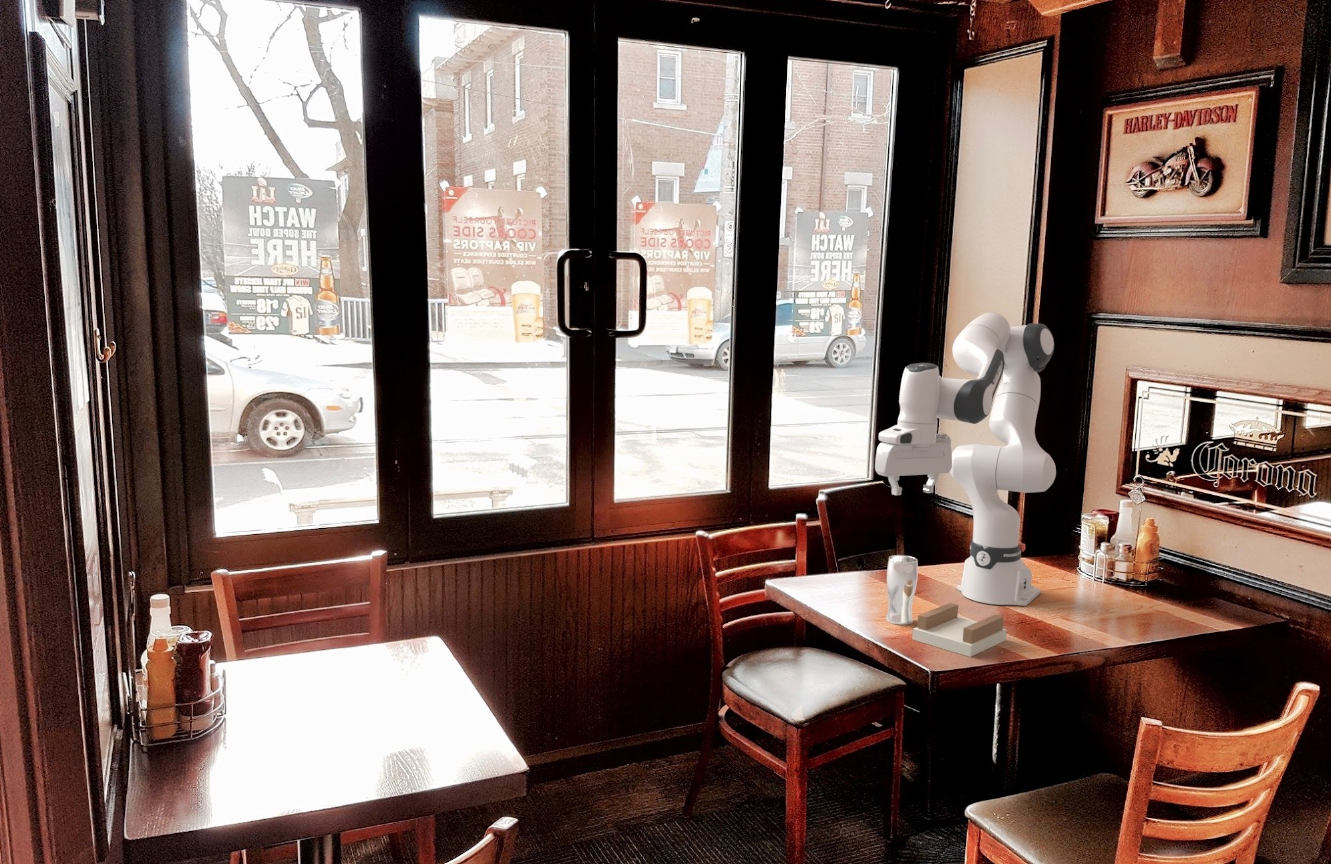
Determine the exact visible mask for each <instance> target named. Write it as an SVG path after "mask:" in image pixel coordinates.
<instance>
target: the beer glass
mask: <svg viewBox="0 0 1331 864" xmlns="http://www.w3.org/2000/svg"><path fill="white" fill-rule="evenodd" d="M918 561H919V560H918V559H917V558H916V557H913V556H910V555H904V554H896V555H895V554H893V555H890V556H888V562H887V570H886V588H887V595H888V609H887V613H886V618H885V621H887V622H888V623H889V624H893V625H898V626H901V625H902V626H908V625H911V624H913V622H914V619H913V618H914V617H913V612H912V609H913V608H912V607H913V602H914V598H915V597H914V596H915V593H916V589H917V586H918V584H917V583H918V577H919V576H918V575H919V571H918V570H919V569H918Z"/></svg>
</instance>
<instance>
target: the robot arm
mask: <svg viewBox="0 0 1331 864" xmlns="http://www.w3.org/2000/svg"><path fill="white" fill-rule="evenodd" d="M969 322H970V323H968V324H967V325H965V327H964V328H963V329H961V332H960V333H958V334H957V336H956V338H955V339H954V342H953V345H952V349H951V350H952V358H953V360H954V362H955V364H956V365H957V366H958V367H959V368H960V369H961V370H962V371H964V373H967V374H969V375H973V376H977V377H976V378H970V379H969V378H968V379H964V378H953V377H942V376H941V375H940V370H939V366H938V365H936V364H934V363H931V362H919V363H917V362H915V363H911V364H908V365H907V366H905V368H904V370H903V373H902V377H901V382H900V389H899V395H898V397H899V398H898V399H899V400H898V403H899V409H900V410H899V415H898V418H897V424H895V425H893V426H891V427H889V428H887V429H884V430H881V431H880V432H879V433H878V440H879V442H880V443H879V444H878V446H877V448H876V452H875V453H876V454H875V462H874V463H875V464H874V469H875V472H876V474H878V475H879V476H883V477H887V479H888V482H889V484H890V486H891V495H892V496H893V495H894V496H901V495H902V491H903V487H901V486H899V484H898V481H899V480H900V476H905V477H906V476H918V475H919V476H921V475H927V478H928V479H927V481H926V484H923V485H922V486H923V487H922V488H923V489H922V492H923V493H925V494H933V493H934V486H935V485H936V483H937V481H938V479H939V474H940V475H941V474H949V475H950V476H951V478H952V479H953V480H954V481H955V482H956V483H957V484H958V485H959V486H960V487H961V488H962V489H963V491H964V492H965V494H966V495H967V497H968V499H969V501H970V504H971V505H970V506H971V508H972V515H973V517H972V518H973V524H972V525H973V528H972V530H973V532H972V540H971V541H970V545H969V554H970V556H969V557H968V558H966V559H965V560H964V567H963V573H962V579H961V583H960V584H957V587H956V589H957V590H958V591H960V592H961V595H962V596H963V597H965V598H967V599H969V600H972V601H975V602H978V603H983V604H989V605H997V606H998V605H1001V606H1005V605H1006V606H1023V607H1026V606H1028V605H1029V604H1030V603H1031V602H1032V601H1033V600H1034V599H1036V598H1037V597H1038V596H1039V595H1040V594H1041V589H1040V588H1038V587H1036V586H1034V585H1032V579H1033V578H1032V577H1033V576H1032V570H1031V569H1030V568H1029V567H1028V566H1027V565H1026V564H1025V562H1024V561H1023V560H1022V554H1021V553H1022V552H1024V551H1025V550H1026V544H1025V543H1020V542H1019V539H1020V530H1021V529H1020V526H1021V516H1020V514H1019V512H1018V511H1017V509H1015V508H1014V507H1013V506H1011V505H1010V504H1008V503H1006V502H1005V501H1004V500H1003V499H1002V498H1001V497H1000V495H999V492H998V490H999V491H1007V492H1017V493H1022V494H1023V493H1025V494H1027V493H1042V492H1043V493H1044V492H1046V491H1047V490H1048V489H1049V488H1050V487H1051V486H1052V485H1053V483H1054V481H1055V479H1056V476H1057V469H1056V464H1055V462H1054V460H1053V458H1052V457H1051V455H1050V454H1049V453H1047V452H1046V451H1045V450H1044V449H1043V448H1042V447H1041V446H1040V445H1039V442H1038V441H1037V438H1036V433H1035V431H1036V430H1035V428H1036V423H1037V421H1036V420H1037V415H1038V412H1039V406H1040V401H1041V387H1042V386H1041V377H1040V375H1039V373H1040V372H1042V371H1044V369H1045V368H1046V366H1047V364H1048V363H1049V362H1050V360H1051V358H1052V356H1053V354H1054V350H1055V340H1054V335H1053V333H1052V331H1051V330H1050V329H1049V327H1047V325H1045V324H1043V323H1028V324H1027V325H1025V324H1023V325H1014V326H1012V325H1011V326H1010V323H1009V321H1008V320H1007V319H1006V318H1005V317H1004V316H1003V315H1002V314H1000V313H997V312H985V313H983V314H980V315H979V316H978V317H976V318H974V319H973V320H971V321H969ZM989 415H990V416H989ZM988 416H989V420H988V426H989V430H990V432H991V434H992V435H993V436H995V438H996V439H998V441H1001V442H1002V443H1004V444H1006V445H991V444H982V443H971V444H969V443H968V444H960V445H958V446H957V447H955V448H954V449H953V451H952V439H951V438H950V436H949V435H948V434H947V433H938V432H937V431H938V419H941V420H949V421H958V422H963V423H968V424H974V425H975V424H976V425H977V424H979V423H980V422H983V421H984V420H985V419H986V418H987V417H988Z"/></svg>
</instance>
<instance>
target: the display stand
mask: <svg viewBox="0 0 1331 864" xmlns="http://www.w3.org/2000/svg"><path fill="white" fill-rule="evenodd" d="M1003 627H1004V616H1002V615H998V614H993V615H990V616H989V617H986V618H984V619H980V620H979V621H977V620H973V619H970V618H967V617H962V616H959V604H956V603H953V602H949V603H946V604H944V605H941V606H938V607H936V608H934V609H930V610H929V611H925V612H923V613H921V614H918V615H917V626H916V627H914V628H912V636H911V637H912V638H911V639H912V641H915V642H920V643H922V644H925V645H930V646H933V647H936V648H938V649H943V650H945V651H949V652H953V653H955V654H959V655H962V656H966V657H969V658H971V657H974V656H975V655H977V654H979V653H982V652H984V651H986V650H988V649H990V648H992V647H994V646H996V645H1000V644H1001V643H1003V642H1006V641H1007V631H1008V629H1006V628H1003Z"/></svg>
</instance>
